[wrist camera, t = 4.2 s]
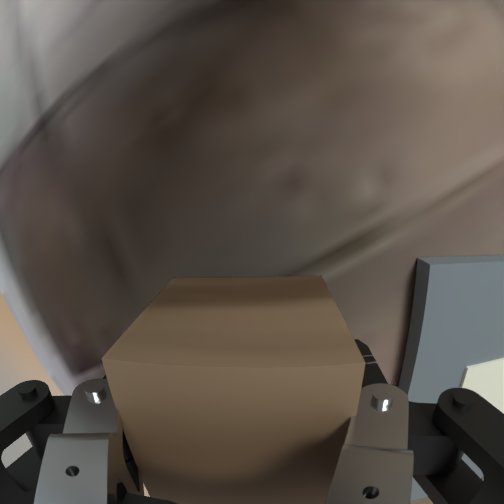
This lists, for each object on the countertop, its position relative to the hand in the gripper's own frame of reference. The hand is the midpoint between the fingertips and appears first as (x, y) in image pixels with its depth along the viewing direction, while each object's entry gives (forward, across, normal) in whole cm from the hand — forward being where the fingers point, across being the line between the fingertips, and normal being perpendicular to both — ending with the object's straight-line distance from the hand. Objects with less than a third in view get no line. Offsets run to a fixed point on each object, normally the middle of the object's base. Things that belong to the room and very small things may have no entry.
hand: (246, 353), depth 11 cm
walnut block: (+1, 0, 0) cm, 1 cm away
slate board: (+2, -13, +5) cm, 14 cm away
